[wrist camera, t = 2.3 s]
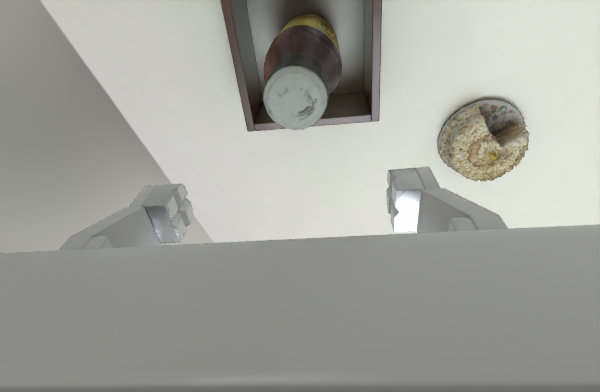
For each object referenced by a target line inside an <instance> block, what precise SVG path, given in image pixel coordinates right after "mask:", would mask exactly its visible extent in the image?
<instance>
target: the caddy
mask: <svg viewBox="0 0 600 392" xmlns="http://www.w3.org/2000/svg"><path fill="white" fill-rule="evenodd" d="M221 5H222V10H223V15H224V20H225V25H226V29H227V34H228V39H229V44H230V49H231V54H232V58H233V63H234V68H235V73H236V78H237V82H238V87H239V92H240V97H241V102H242V107H243V111H244V116H245V121H246V126H247V131H260V130H273V129H285V127H283V126H280V125H279V124H277V123H276V122H274V121H273V120H272V119H271V118H270V116H269V115H268V113H267V111H266V108H265V105H264V101H263V99H262V93H261V87H260V82H259V76H258V70H257V64H256V58H255V52H254V47H253V41H252V35H251V29H250V23H249V17H248V12H247V6H246V0H221ZM381 20H382V0H364V92H359V93H348V94H336V95H329V99H328V103H327V108H326V110H325V113H324V114H323V115H322V117H321V118H320V119H319V120H318V121H317V122H316V123H315V124H314V125H312V126H323V125H335V124H348V123H360V122H371V121H372V122H373V121H379V108H380V64H381Z"/></svg>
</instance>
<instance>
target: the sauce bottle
mask: <svg viewBox="0 0 600 392" xmlns="http://www.w3.org/2000/svg"><path fill="white" fill-rule="evenodd" d="M341 71H342V64H341V57H340V52H339V47H338V41H337V36H336V34H335V31H334V29H333V28H332V26H331V25H330V24H329V23H328V22H327V21H326V20H325V19H323V18H322V17H320V16H318V15H314V14H303V15H299V16H296V17H294V18H292V19H291V20H290V21H289V22H288V23H287V24H286V25H285V26H284V28H283V29H282V30H281V32H280V33H279V34H278V35H277V37H276V38H275V39H274V41H273V42H272V44H271V46H270V48H269V50H268V53H267V55H266V58H265V63H264V78H265V87H264V91H263V101H264V105H265V108H266V111H267V113H268V115H269V116H270V118H271V119H272V120H273V121H274V122H276V123H277V124H279V125H280V126H283V127H285V128H287V129H294V130H297V129H304V128H307V127H310V126H312V125H314V124H315V123H316V122H317V121H318V120H319V119H320V118H321V117H322V115H323V114H324V113H325V110H326V108H327V103H328V99H329V95H330V94H331V93H332V92H333V91H334V90H335V88H336V87H337V85H338V83H339V80H340V77H341Z"/></svg>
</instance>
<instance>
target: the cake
mask: <svg viewBox="0 0 600 392" xmlns="http://www.w3.org/2000/svg"><path fill="white" fill-rule="evenodd" d="M523 120H524V118H523V117H522V115H521V112H519V111H518V109H517V108H516V107H514V106H512V104H510V103H509V104H508V103H506V102H505V101H499V100H481V101H478V102H476V103H471V104H470V105H469V106H465V107H463V108H462V109H460V110H458V112H456V113H455V114H454V115H453V116H451V117H450V119H449V120H448V121H447V122H446V123H445V125H444V126H443V128H442V130H441V133H440V134H439V138H438V140H439V141H438V150H439V151H438V153H439V154H440V157H441V159H442V160H443V161H444V163H446V164H447V166H448V167H450V168H452V169H454V170H456V172H458V173H460V174H462V175H463V176H464V177H466V178H468V179H472V180H475V181H477V180H479V179H480V181H486V180H491V181H492V180H494V178H495V179H496V178H497V177H501V176H503V174H506V173H505V172H510V170H512V169H513V166H517V164H519V162H520V160H521V159H522V157H524V154H525V151H527V150H528V147H527V146H528V142H529V141H528V140H529V139H528V136H529V132H528V131H526V129H525V126H526V125H525V123H524V121H523Z"/></svg>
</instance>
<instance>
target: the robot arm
mask: <svg viewBox="0 0 600 392" xmlns="http://www.w3.org/2000/svg"><path fill="white" fill-rule="evenodd" d="M387 182H388V185H389V188H388V189H387V208H388V212H389V214H391V223H392V227H393V230H394V232H397V231H417V232H418V233H410V234H389V235H368V236H348V237H327V238H306V239H286V240H265V241H244V242H223V243H203V244H182V245H161V243H174V242H181V241H182V239H183V237H184V235H185V233H186V228H185V227H186V226H188V225H189V224H190V223H191V221H192V218H193V208H192V205H191V202H190V201H189V200H188V199H187V198H185V197H186V195H187V190H186V188H185V186H184V185H183V184H166V185H148V186H145V187H144V188H143V189H142V191H141V192H140V193H139V194H138V196H137V197H136V198H135V200H134V201H133V202H132V203H131V205H130V206H129V207H128V208H123V209H122V210H120V211H118V212H116V213H114V214H112V215H110V216H108V217H107V218H105V219H103V220H101V221H99V222H97V223H95V224H93V225H92V226H90V227H88V228H86V229H84V230H82V231H80V232H79V233H77V234H75V235H73V236H71V237H70V238H69V239H68V240H67V241H66V242H65V244H64V245H63V246H62V247H61V248H60V249H59V250H57V251H36V252H16V253H0V392H600V224H597V225H577V226H556V227H534V228H514V229H508V228H507V226H506V225H505V223H504V222H503V220H502V219H501V218H500V216H499V215H498V214H496V213H494V212H492V211H490V210H488V209H486V208H484V207H482V206H479V205H477V204H475V203H473V202H471V201H469V200H467V199H465V198H463V197H461V196H459V195H457V194H455V193H453V192H451V191H449V190H447V189H441V188H440V186H439V184H438V182H437V181H436V179H435V177H434V175H433V173H432V171H431V169H430V167H419V168H408V169H397V170H388V173H387ZM160 245H161V246H160Z"/></svg>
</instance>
